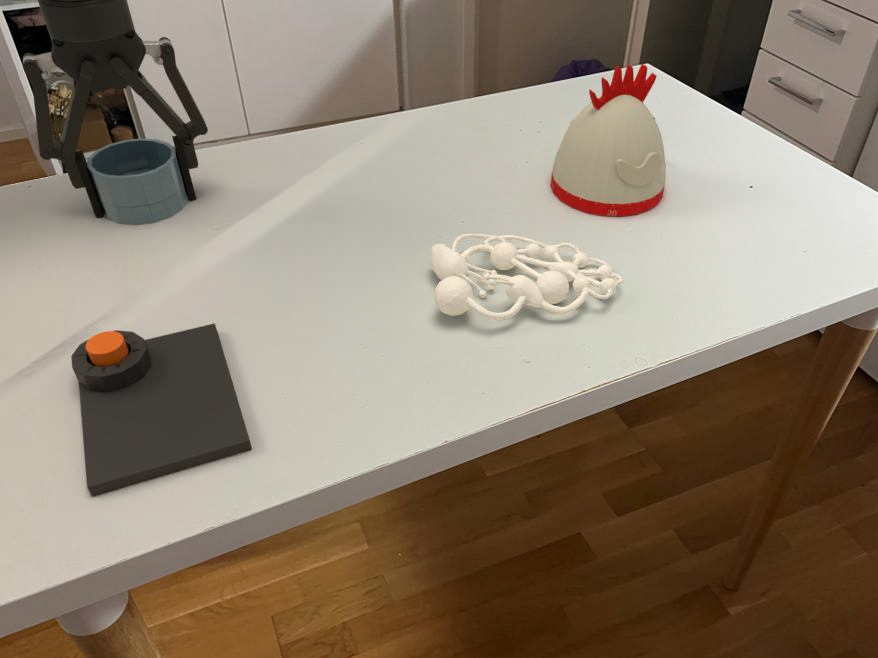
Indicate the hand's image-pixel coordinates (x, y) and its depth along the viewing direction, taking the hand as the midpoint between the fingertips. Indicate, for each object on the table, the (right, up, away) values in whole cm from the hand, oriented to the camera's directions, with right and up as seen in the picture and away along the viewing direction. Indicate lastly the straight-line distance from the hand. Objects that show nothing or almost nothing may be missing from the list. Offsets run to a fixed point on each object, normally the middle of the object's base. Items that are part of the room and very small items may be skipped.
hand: (145, 202), depth 85 cm
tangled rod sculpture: (+41, -10, -7) cm, 43 cm away
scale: (+11, -22, -21) cm, 32 cm away
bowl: (0, -1, +1) cm, 2 cm away
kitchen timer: (+53, +4, +9) cm, 54 cm away
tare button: (+6, -17, -20) cm, 27 cm away
